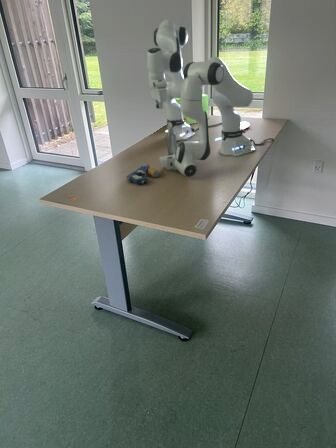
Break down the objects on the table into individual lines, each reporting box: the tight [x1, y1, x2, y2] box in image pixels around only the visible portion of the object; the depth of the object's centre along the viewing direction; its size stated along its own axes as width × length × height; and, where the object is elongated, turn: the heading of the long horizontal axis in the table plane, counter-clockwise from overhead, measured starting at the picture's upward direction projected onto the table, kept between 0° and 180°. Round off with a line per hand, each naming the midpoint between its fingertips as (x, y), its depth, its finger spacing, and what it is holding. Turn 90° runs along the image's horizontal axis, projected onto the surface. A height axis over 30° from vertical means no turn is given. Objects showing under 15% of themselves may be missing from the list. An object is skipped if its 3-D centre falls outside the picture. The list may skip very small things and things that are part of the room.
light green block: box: [175, 93, 209, 126], centre depth 283 cm, size 25×21×23 cm
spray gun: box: [125, 164, 160, 185], centre depth 188 cm, size 21×4×15 cm
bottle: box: [166, 127, 178, 155], centre depth 199 cm, size 6×6×22 cm
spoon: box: [240, 120, 251, 130], centre depth 250 cm, size 35×11×2 cm, turn 159°
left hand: (159, 108), depth 189 cm, fingers closed on cap, 4 cm apart
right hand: (172, 154), depth 203 cm, fingers closed on bottle, 5 cm apart
